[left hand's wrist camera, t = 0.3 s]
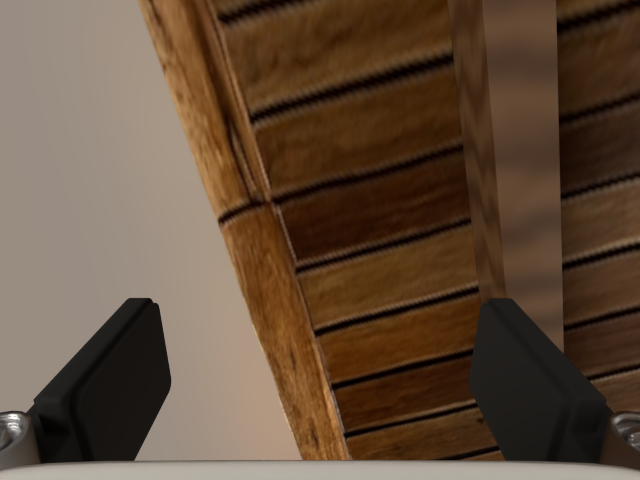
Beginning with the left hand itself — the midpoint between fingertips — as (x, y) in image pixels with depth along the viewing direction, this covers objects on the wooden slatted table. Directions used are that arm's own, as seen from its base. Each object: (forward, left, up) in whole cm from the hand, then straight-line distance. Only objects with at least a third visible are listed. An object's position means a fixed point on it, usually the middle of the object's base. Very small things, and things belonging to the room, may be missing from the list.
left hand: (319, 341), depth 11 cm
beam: (+9, +19, -30) cm, 37 cm away
